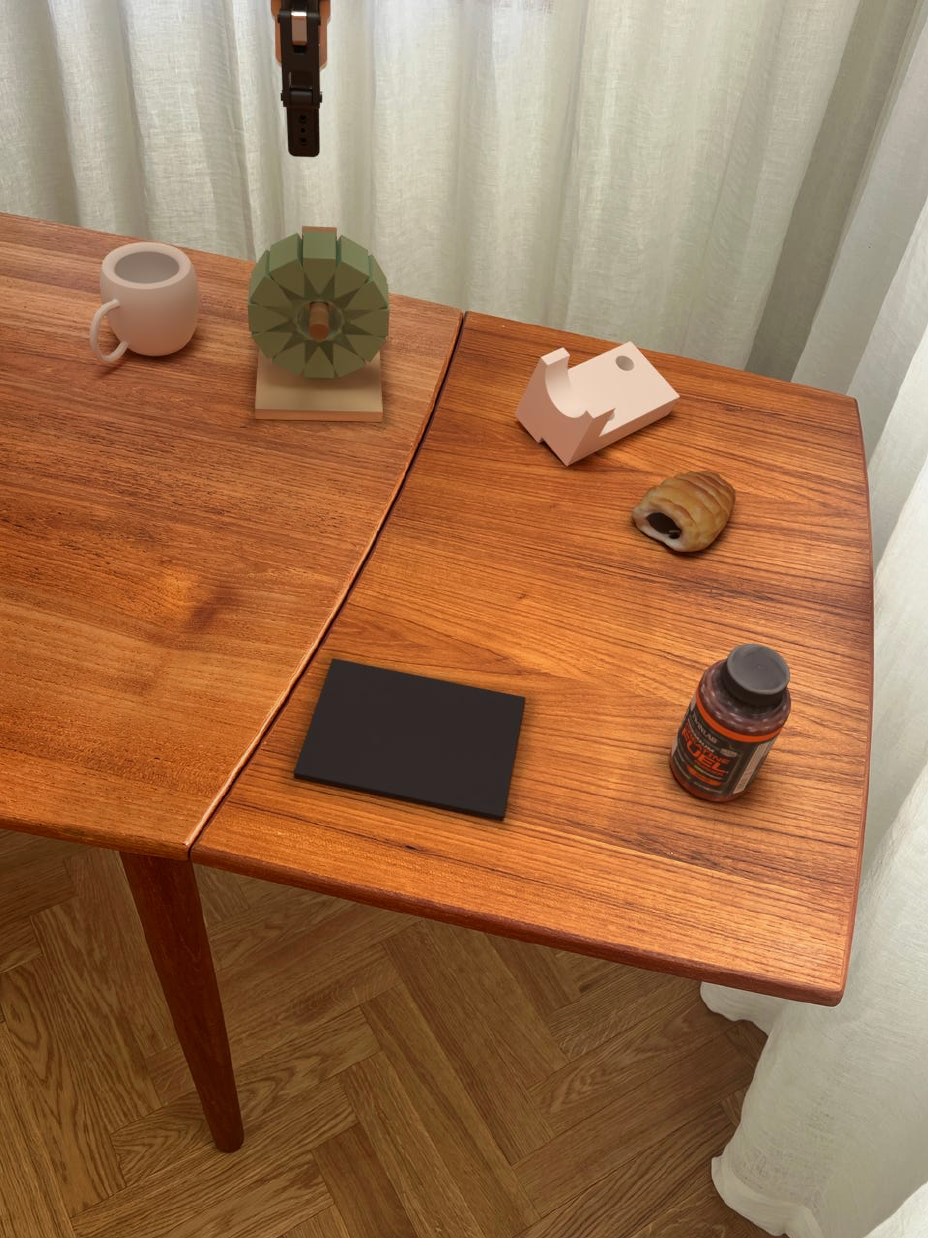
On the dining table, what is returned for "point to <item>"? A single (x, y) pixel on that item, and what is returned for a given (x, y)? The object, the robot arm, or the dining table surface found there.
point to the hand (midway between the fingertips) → (304, 125)
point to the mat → (413, 739)
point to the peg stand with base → (318, 382)
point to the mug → (147, 300)
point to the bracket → (592, 400)
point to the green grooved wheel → (318, 276)
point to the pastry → (686, 510)
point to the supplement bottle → (732, 723)
